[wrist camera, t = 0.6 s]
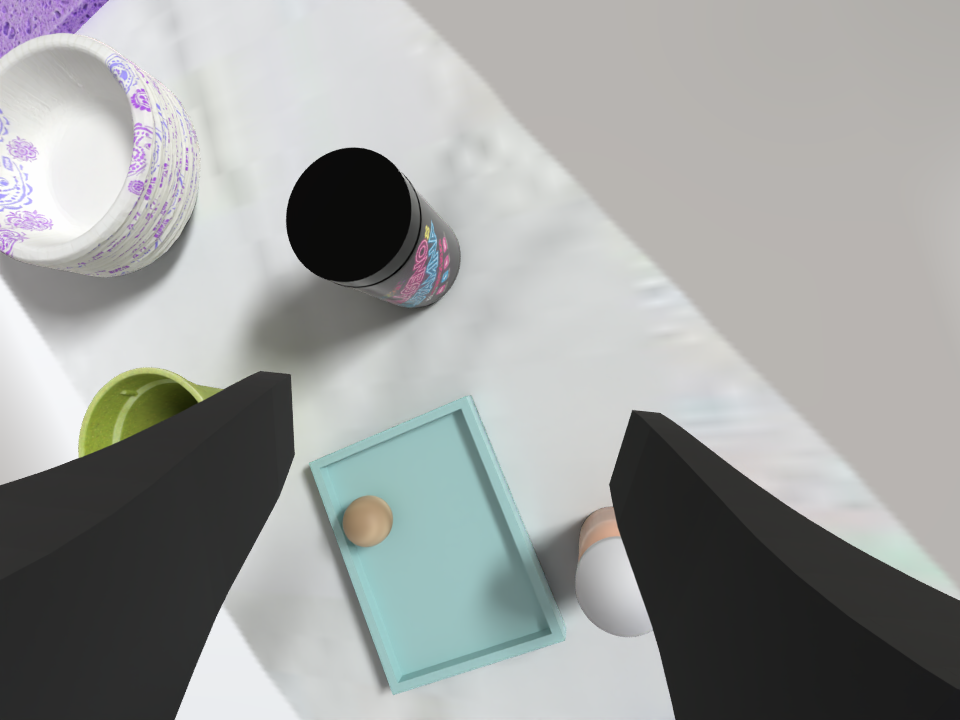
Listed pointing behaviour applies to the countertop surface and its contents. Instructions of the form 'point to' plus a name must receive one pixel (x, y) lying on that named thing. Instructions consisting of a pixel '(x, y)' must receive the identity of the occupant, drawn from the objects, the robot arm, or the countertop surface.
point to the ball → (367, 521)
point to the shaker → (608, 579)
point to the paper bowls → (90, 159)
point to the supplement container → (371, 230)
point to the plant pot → (136, 405)
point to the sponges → (41, 19)
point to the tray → (440, 549)
